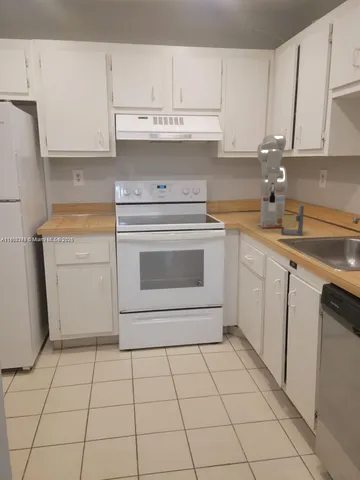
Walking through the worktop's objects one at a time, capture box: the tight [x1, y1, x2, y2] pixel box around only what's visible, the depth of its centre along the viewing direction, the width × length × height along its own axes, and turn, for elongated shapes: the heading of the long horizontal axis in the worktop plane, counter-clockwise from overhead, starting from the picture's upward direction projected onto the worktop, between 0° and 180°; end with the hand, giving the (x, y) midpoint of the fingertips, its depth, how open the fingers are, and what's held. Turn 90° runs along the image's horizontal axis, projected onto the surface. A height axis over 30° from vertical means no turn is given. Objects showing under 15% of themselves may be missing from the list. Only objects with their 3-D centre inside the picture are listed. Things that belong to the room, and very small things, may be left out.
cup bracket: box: [281, 202, 305, 237], centre depth 217 cm, size 16×12×17 cm
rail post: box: [268, 190, 277, 211], centre depth 219 cm, size 4×4×14 cm
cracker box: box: [260, 194, 286, 229], centre depth 237 cm, size 14×6×21 cm, turn 92°
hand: (272, 201), depth 219 cm, fingers closed on rail post, 4 cm apart
